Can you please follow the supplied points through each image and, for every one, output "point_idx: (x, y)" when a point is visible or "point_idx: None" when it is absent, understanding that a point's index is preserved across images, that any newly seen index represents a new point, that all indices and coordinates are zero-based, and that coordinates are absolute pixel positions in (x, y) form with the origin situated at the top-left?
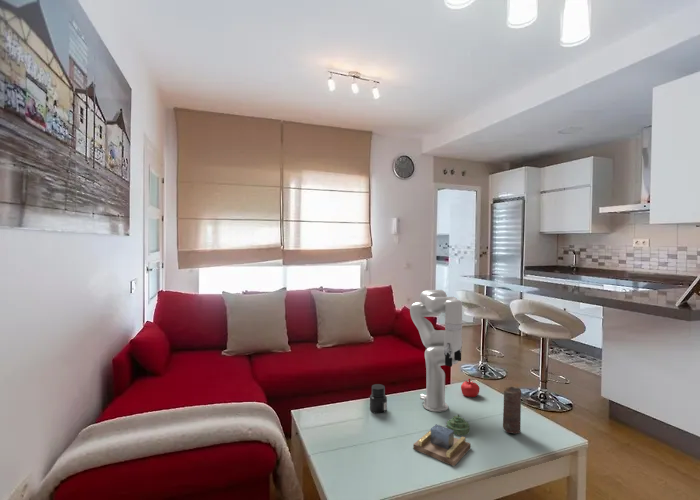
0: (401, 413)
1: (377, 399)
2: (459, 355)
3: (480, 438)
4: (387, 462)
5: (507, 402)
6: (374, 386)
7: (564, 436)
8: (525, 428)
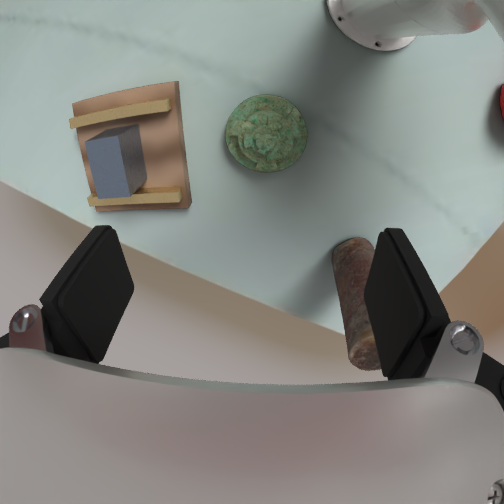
0: None
1: None
2: (380, 343)
3: (261, 203)
4: (17, 106)
5: (347, 317)
6: None
7: None
8: None
